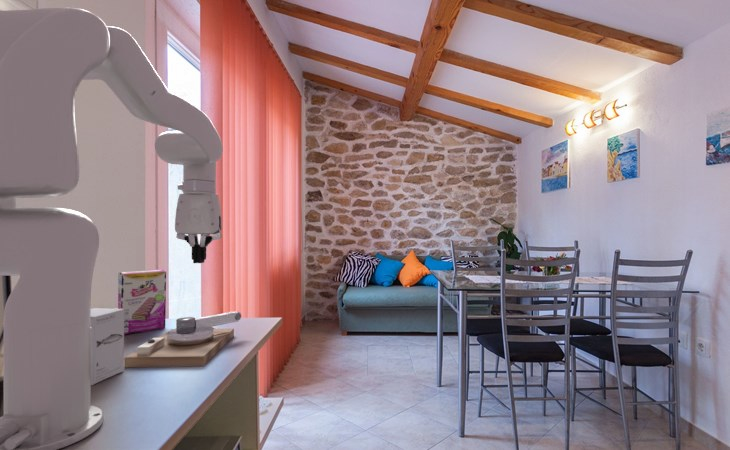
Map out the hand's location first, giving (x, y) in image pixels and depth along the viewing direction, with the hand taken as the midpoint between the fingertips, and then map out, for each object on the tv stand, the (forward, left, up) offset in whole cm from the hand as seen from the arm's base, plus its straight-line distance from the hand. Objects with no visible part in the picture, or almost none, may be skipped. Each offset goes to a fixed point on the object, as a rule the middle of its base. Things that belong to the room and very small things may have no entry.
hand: (198, 262), depth 98 cm
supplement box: (-22, +12, -20) cm, 32 cm away
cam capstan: (-2, -3, -18) cm, 18 cm away
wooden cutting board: (-6, +1, -20) cm, 21 cm away
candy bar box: (+12, +20, -20) cm, 31 cm away
